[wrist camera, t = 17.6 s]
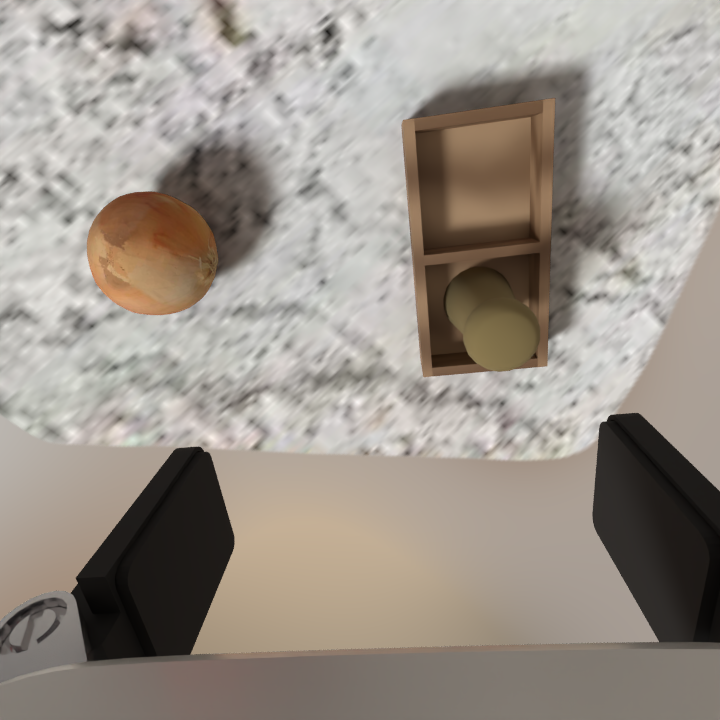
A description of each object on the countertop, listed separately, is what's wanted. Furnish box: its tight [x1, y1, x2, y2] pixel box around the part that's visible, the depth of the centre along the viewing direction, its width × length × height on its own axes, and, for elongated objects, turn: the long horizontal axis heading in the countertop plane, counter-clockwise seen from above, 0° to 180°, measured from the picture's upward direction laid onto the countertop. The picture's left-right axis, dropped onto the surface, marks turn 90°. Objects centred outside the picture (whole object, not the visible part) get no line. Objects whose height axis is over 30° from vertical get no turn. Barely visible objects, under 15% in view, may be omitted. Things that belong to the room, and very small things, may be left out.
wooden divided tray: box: [401, 98, 555, 377], centre depth 38 cm, size 20×11×4 cm, turn 7°
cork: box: [443, 266, 540, 372], centre depth 36 cm, size 6×6×11 cm
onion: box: [87, 192, 218, 315], centre depth 37 cm, size 10×10×10 cm
